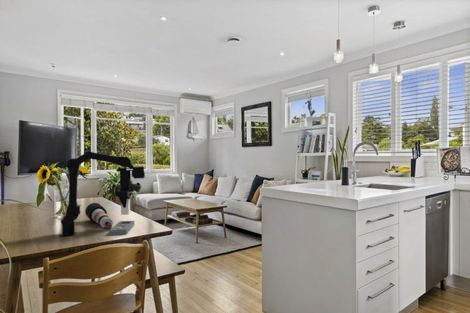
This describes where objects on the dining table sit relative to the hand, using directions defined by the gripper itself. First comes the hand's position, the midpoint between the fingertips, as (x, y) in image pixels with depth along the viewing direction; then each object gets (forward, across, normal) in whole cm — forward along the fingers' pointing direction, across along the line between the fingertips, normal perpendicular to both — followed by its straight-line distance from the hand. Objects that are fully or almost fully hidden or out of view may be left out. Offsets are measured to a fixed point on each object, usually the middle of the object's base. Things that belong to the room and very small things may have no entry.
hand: (125, 206), depth 169 cm
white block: (+4, 0, 0) cm, 4 cm away
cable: (+13, +12, +17) cm, 24 cm away
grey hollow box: (+12, -6, 0) cm, 14 cm away
